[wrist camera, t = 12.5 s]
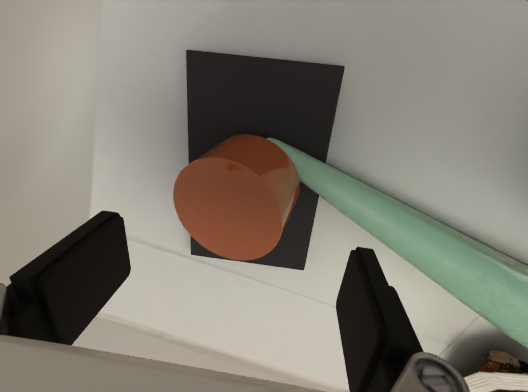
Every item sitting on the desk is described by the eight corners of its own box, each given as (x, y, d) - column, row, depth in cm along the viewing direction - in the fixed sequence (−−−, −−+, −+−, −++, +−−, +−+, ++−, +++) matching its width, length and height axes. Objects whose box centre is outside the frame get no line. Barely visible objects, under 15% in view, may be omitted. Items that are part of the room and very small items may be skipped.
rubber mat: (189, 50, 18) (185, 49, 17) (343, 66, 17) (345, 66, 17) (193, 250, 24) (190, 255, 24) (303, 266, 24) (303, 270, 23)
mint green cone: (226, 215, 18) (560, 383, 19) (262, 142, 15) (638, 340, 17) (243, 185, 23) (509, 321, 24) (273, 126, 20) (564, 281, 22)
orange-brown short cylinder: (207, 125, 18) (166, 146, 15) (307, 145, 17) (290, 174, 13) (209, 209, 22) (177, 243, 18) (292, 232, 20) (275, 274, 17)
